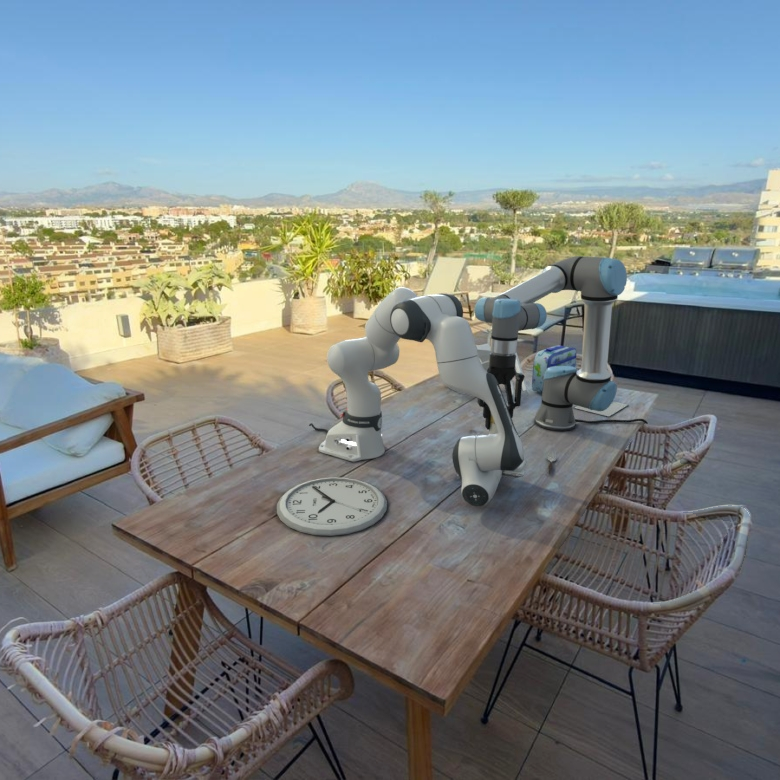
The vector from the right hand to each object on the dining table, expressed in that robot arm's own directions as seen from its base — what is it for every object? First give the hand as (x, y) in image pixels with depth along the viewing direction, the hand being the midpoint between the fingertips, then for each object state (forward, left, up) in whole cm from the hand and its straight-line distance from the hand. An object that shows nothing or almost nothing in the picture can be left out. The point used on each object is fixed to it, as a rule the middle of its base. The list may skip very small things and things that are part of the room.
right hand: (496, 427), depth 158 cm
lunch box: (-34, -94, -15) cm, 101 cm away
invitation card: (-51, -73, -15) cm, 90 cm away
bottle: (0, 0, -15) cm, 15 cm away
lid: (0, 0, +4) cm, 4 cm away
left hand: (0, -1, -9) cm, 9 cm away
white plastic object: (+1, -84, -15) cm, 86 cm away
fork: (-19, -9, -15) cm, 26 cm away
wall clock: (+45, +26, -15) cm, 55 cm away
